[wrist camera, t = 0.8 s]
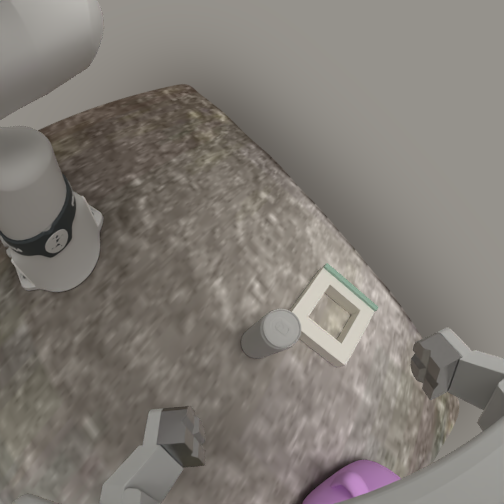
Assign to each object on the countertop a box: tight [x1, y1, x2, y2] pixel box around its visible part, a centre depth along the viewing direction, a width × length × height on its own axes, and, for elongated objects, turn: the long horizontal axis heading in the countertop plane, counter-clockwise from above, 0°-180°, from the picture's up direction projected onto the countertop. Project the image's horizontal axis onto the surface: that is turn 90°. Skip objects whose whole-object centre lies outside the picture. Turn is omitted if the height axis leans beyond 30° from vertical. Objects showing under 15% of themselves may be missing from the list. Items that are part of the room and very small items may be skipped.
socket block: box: [289, 263, 378, 367], centre depth 45 cm, size 12×12×4 cm
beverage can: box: [241, 309, 301, 358], centre depth 37 cm, size 5×5×12 cm
